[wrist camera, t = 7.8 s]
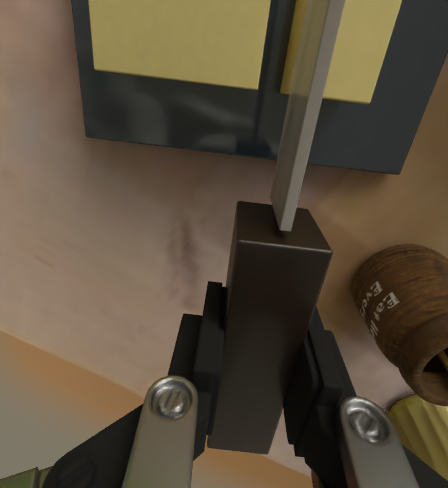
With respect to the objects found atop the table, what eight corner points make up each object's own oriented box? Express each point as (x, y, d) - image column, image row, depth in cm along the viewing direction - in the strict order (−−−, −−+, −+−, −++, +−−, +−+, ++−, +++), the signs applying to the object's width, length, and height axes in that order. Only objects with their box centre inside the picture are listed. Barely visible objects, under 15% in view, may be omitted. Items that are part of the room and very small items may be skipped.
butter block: (122, 73, 13) (93, 69, 11) (116, -46, 11) (80, -85, 9) (253, 89, 13) (257, 90, 11) (269, -25, 12) (279, -58, 9)
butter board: (93, 134, 16) (85, 137, 15) (66, -150, 11) (51, -171, 10) (390, 170, 16) (400, 175, 15) (490, -92, 11) (511, -107, 10)
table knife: (450, -342, 5) (679, -813, 2) (263, 386, 14) (268, 455, 11) (313, -361, 5) (395, -862, 2) (212, 380, 14) (206, 448, 11)
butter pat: (279, 92, 13) (289, 94, 11) (299, -21, 12) (318, -53, 9) (344, 101, 14) (370, 104, 11) (374, -11, 12) (415, -40, 9)
